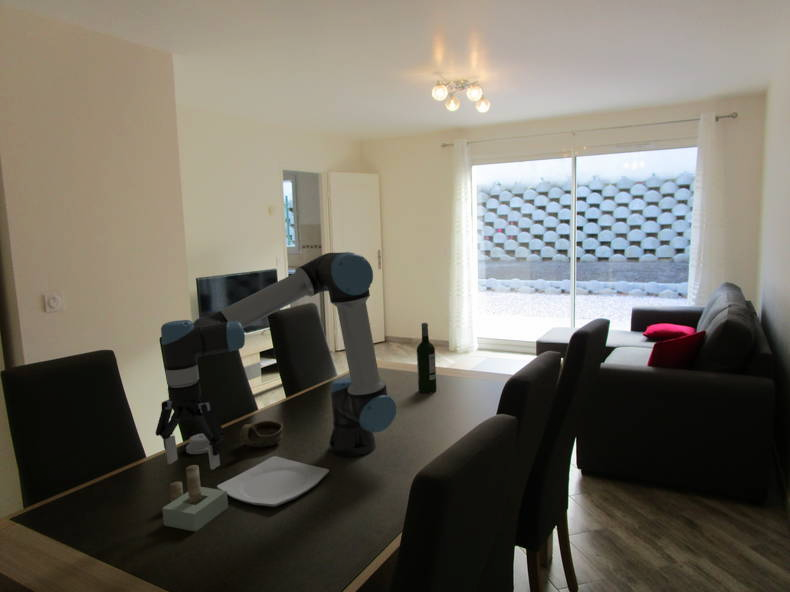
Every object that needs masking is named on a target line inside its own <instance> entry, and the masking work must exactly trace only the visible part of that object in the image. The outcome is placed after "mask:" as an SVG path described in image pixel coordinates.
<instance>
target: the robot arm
mask: <svg viewBox="0 0 790 592" xmlns="http://www.w3.org/2000/svg"><path fill="white" fill-rule="evenodd" d="M373 280H374V271H373V267H372V266H371V263H370V262H369V261H368V260H367V258H366V257H364V256H362V255H361V254H358V253H354V252H349V251H346V252H328V253H323V254H322V255H319V256H318V257H315V258H314V259H312V260H310V261H308V262H306V263H305V264H303V265H301V266H299V267H297V268H296V269H295V272H294V273H292V274H290V275H288V276H286V277H285V278H283V279H280V280H279V281H276V282H274V283H272V284H270V285H268V286H266V287H264V288H263V289H261V290H260V289H259V291H256V292H254V293H252V294H251V295H248V296H246V297H244V298H242V299H240V300H238V301H237V302H234V303H232V304H230V305H228V306H226V307H224V308H222V309H220V310H218V311H216V312H214V313H213V314H210V315H208V316H207V315H206V316H201V317H198V318H197V319H195V320H194V321H192V320H190V319H182V320H172V321H167V322H165V323H163V324H162V325H161V328H160V333H161V341H160V342H161V349H162V355H163V361H164V368H165V377H166V384H167V386H168V387H167V393H168V399H166V400H164V401H162V402H161V411H160V416H159V419H158V421H157V425H156V429H155V436H157V437H158V436H160V437H161V439H162V440H163V447H164V450H165V454H166V460H167V464H168V465H171V464H172V463H174V462H176V461H177V460H178V459H179V458H178V452H177V451H178V449H177V443H176V436H175V435H174V432H175V430H176V428H177V426H178V425H179V423H180V422H181V421H189V422H192V423H193V424H195V425H196V427H198V429H199V430H200V431H201V434H204V435H205V437H206V438H207V439H208V440H209V442H210V443H208V444H207V445H208V452H207V454H208V459H209V460H208V461H209V468H210V470H215V469H216V468H217V467H219V466H220V465H221V461H220V454H221V443H220V442H221V441H222V440H224V439H226V437H227V435H226V433H225V431H224V429H223V427H222V426H221V423H220V421H219V420H218V417H217V416H216V413H215V412H214V409H213V404H212V402H211V401H207V402H204V403H202V402H201V400H200V399H201V396H202V387H201V382H200V381H199V380H200V374H199V366H198V364H199V363H198V357H203V356H210V355H215V354H221V353H227V352H230V353H232V352H233V351H237V350H241V349H242V348H244V346H245V343H246V342H245V341H246V338H245V330H244V329H245V328H247V327H249V326H251V325H252V324H254V323H256V322H258V321H259V322H260V320H262V319H265V318H266V317H268V316H271V314H273V313H276V312H277V311H279V310H281V309H283V308H285V307H288V306H290V305H291V304H293V303H295V302H297V301H299V300H301V299H302V298H304V297H306V296H307V297H314V296H315V295H317V294H320V293H324V292H328V294H329V295H328V297H329V299H330V300H329V302H330V304H332V305H334V306H335V307H336V309H337V314H338V315H337V316H338V319H339V326H340V331H341V337H342V339H343V346H344V351H345V356H346V362H347V368H348V373H349V377H345V378H340V379H337V380H335V381H333V382H332V383H331V384H330V399H331V410H332V411H331V412H332V422H333V423H332V426H333V427H332V431H331V434H330V439H329V442H328V444H329V445H328V446H329V452H330V453H331V454H332V455H335V456H338V457H349V458H350V457H357V456H363V455H367V454H368V453H370V452H372V451H373V450H375V448H376V445H377V444H376V437H375V435H374V434H375V433H381V432H383V431H385V430H387V429H388V428H389V427H390V426H391V425H392V423H393V421H394V420H395V418H396V415H397V404H396V401H395V400H394V399H393V398H392V397H391V396H390V395H388V389H387V385H386V384H387V383H386V382H385V380H384V379H382V378H380V374H379V373H380V372H379V367H378V362H377V355H376V350H375V347H374V346H375V345H374V340H373V334H372V330H371V329H372V328H371V323H370V318H369V311H368V306H367V301H368V299H369V298H370V296H371V293H370V287H371V285H372V283H373V282H374V281H373ZM172 412H173V413H172Z"/></svg>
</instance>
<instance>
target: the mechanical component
mask: <svg viewBox="0 0 790 592" xmlns="http://www.w3.org/2000/svg"><path fill="white" fill-rule="evenodd" d="M188 440H189V444H187V446H186V447H185V449H186V450H185V452H186V453H187V454H190V455H200V454H207V453H208V445H207V444H208V443H210V442H209V440H208V439H207V438H206V437H205V435H204V434H203V433H197V434H195V435H192V436H190V437H189V439H188Z"/></svg>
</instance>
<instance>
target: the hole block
mask: <svg viewBox="0 0 790 592" xmlns="http://www.w3.org/2000/svg"><path fill="white" fill-rule="evenodd" d="M201 497H202V501H201V502H200V503H198V504H197V505H193V504H189V495H188V491H187V492H185V493H183V495H182V496H180V497H179V498H177V499H176V500H174V501H173V502H172V501H171V502H169V503H168V504H167V505H165V506H164V507H162V509H161V510H162V517H163V526H165V527H171V528H176V529H180V530H186V531H191V532H198V531H199V530H201V528H203V527H204V526H205V525H206V524H209V523H210V522H211V521H212V520H213V519H214V518H216V517H217V516H219V515H220V514H221V513H222V512H224V511H225V510H227V509H228V508H229V499H228V494H227V491H224V490H220V489H218V488H211V487H206V486H205V487H204V486H201Z"/></svg>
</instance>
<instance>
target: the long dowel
mask: <svg viewBox="0 0 790 592" xmlns="http://www.w3.org/2000/svg"><path fill="white" fill-rule="evenodd" d="M185 474H186V475H185V476H186V481H187V482H186V483H187V492H188V495H189V504H193V505H197V504H198V503H200V502H201V501H202V497H201V487H202V486H201V480H200V479H201V478H200V468H199V465H198V464H197V465H196V464H192V465H188V466H187V467H186V468H185Z"/></svg>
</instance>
